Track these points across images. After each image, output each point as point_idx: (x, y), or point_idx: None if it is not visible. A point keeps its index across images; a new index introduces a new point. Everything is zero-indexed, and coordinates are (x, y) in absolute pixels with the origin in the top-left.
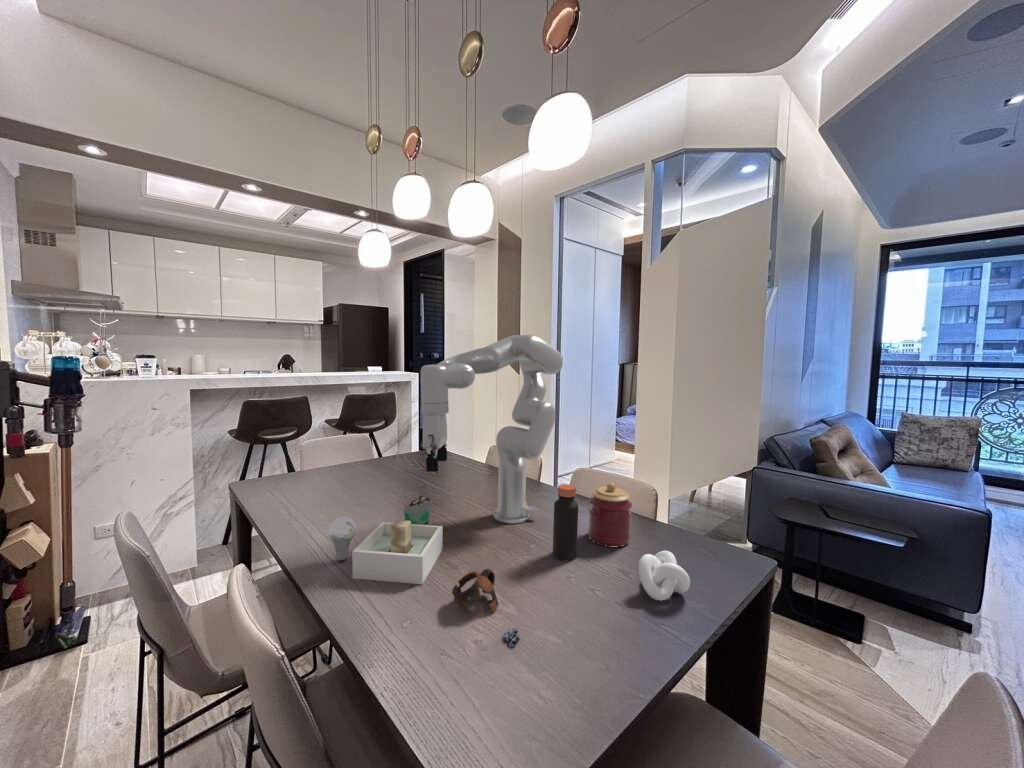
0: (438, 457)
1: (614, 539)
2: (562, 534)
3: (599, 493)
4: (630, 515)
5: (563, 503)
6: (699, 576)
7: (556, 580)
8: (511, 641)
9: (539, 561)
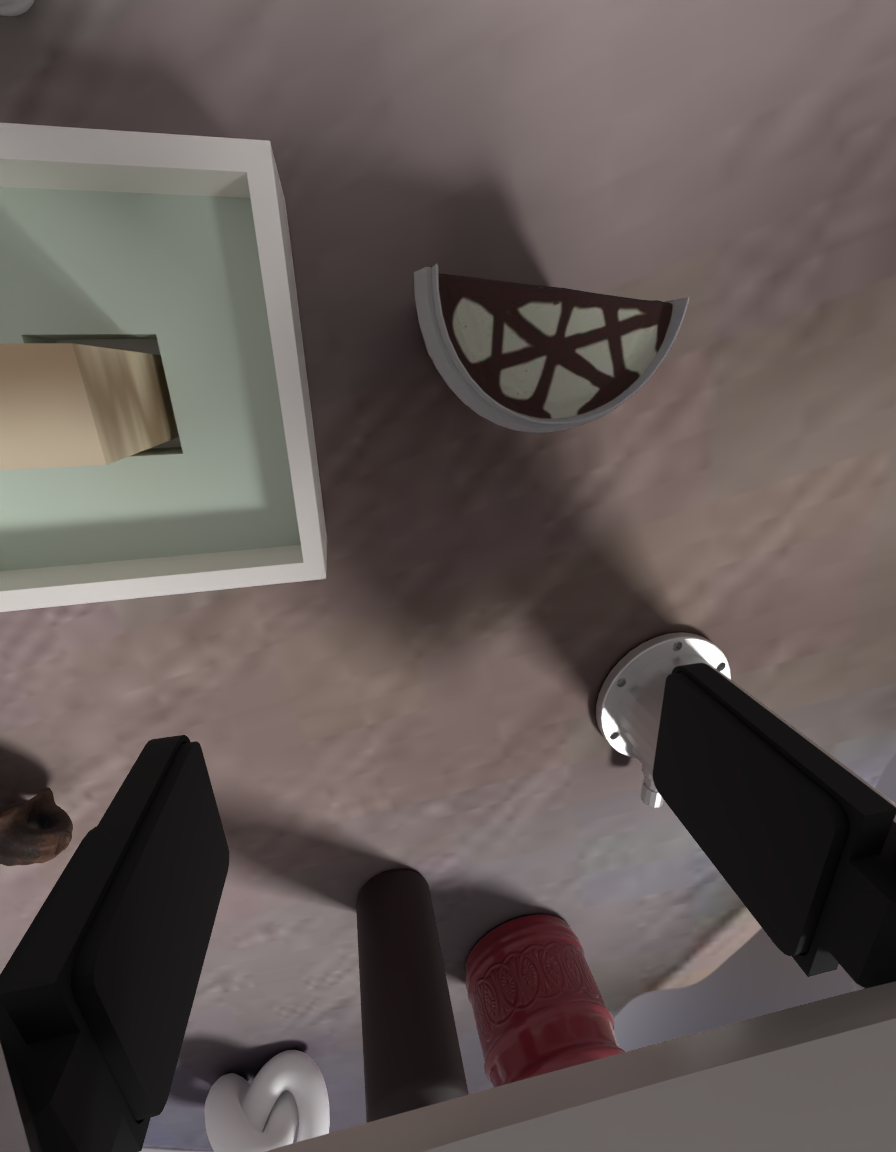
0: (696, 726)
1: (470, 999)
2: (361, 989)
3: None
4: None
5: None
6: (362, 1102)
7: (237, 910)
8: None
9: (336, 850)
